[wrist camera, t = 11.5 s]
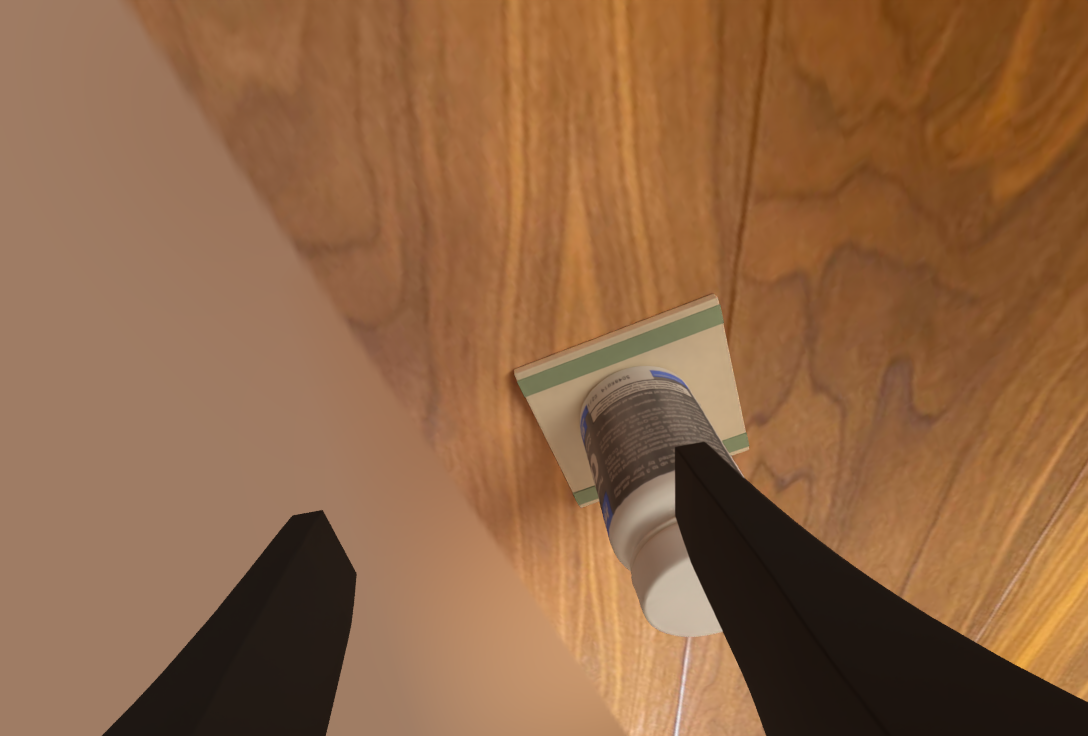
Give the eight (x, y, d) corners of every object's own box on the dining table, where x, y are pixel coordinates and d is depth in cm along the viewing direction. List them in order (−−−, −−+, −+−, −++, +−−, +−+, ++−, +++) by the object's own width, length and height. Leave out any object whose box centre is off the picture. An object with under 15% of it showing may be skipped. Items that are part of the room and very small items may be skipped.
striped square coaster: (579, 501, 24) (580, 509, 24) (513, 369, 20) (513, 375, 20) (745, 444, 23) (750, 451, 23) (713, 292, 19) (718, 298, 19)
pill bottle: (554, 409, 21) (593, 600, 14) (652, 340, 20) (751, 510, 12) (620, 473, 23) (683, 665, 16) (712, 414, 22) (825, 593, 15)
